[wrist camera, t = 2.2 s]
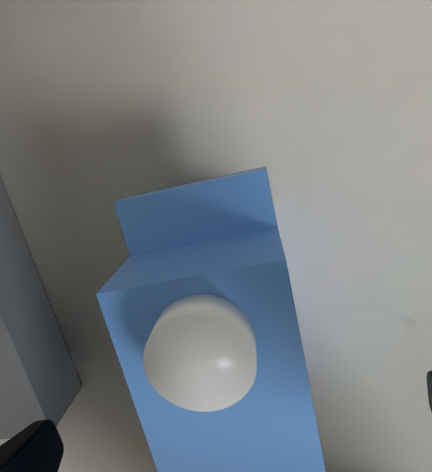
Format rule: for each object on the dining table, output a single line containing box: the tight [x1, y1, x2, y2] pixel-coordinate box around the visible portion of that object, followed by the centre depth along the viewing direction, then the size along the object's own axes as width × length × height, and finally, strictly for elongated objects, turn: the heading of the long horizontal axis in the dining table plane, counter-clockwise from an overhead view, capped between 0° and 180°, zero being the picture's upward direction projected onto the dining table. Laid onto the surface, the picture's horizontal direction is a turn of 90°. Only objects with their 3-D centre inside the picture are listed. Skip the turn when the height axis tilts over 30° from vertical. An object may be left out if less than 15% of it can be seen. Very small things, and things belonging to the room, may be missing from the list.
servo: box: [96, 166, 326, 472], centre depth 11 cm, size 10×4×6 cm, turn 13°
